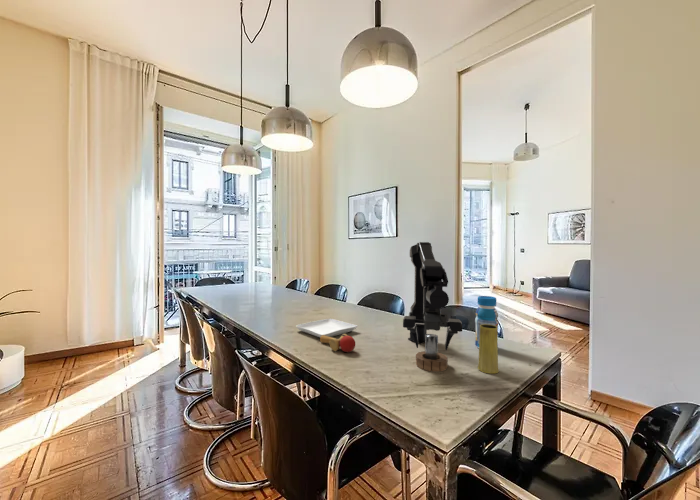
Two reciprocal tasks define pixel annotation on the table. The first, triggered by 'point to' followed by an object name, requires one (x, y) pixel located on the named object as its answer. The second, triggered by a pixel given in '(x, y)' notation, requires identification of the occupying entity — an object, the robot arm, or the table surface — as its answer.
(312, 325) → the salad plate
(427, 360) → the bead ring
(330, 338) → the kendama
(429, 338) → the grey metal cylinder
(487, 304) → the beverage bottle
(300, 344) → the table surface
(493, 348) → the vase
